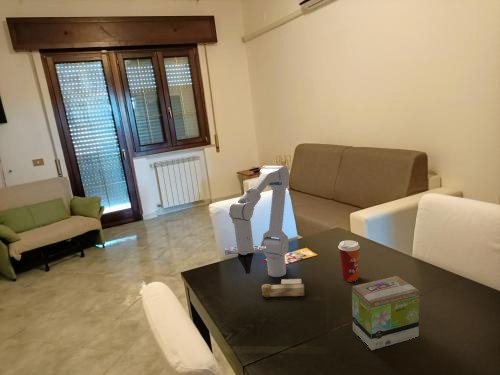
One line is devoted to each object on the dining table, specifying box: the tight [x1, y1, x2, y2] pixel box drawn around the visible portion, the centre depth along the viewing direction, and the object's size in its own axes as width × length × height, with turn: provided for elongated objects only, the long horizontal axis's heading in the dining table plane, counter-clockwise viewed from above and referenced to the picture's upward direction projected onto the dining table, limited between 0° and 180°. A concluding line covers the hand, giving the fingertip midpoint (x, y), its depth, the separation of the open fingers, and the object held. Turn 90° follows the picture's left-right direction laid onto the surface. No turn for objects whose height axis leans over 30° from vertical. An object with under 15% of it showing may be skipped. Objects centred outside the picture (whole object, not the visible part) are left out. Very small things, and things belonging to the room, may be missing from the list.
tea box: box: [351, 275, 420, 351], centre depth 101 cm, size 15×10×15 cm
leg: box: [261, 283, 305, 298], centre depth 128 cm, size 15×4×3 cm, turn 82°
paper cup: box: [337, 240, 361, 283], centre depth 135 cm, size 8×8×14 cm
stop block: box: [280, 278, 302, 285], centre depth 131 cm, size 3×7×4 cm, turn 81°
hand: (248, 272), depth 129 cm, fingers closed
